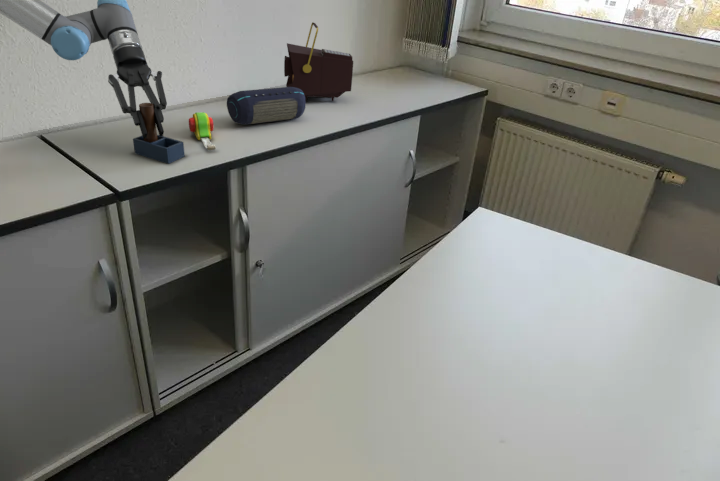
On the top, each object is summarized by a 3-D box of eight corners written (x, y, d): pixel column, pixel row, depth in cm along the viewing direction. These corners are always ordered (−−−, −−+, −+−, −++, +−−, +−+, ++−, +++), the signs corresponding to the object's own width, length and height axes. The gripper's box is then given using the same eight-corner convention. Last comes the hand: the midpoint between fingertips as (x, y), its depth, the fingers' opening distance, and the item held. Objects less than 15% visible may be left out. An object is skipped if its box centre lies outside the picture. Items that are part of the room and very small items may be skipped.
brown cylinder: (141, 142, 141) (135, 104, 136) (151, 138, 144) (146, 101, 138) (151, 145, 140) (145, 107, 135) (160, 141, 142) (156, 104, 137)
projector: (282, 91, 199) (283, 19, 187) (344, 93, 204) (349, 23, 192) (285, 103, 185) (286, 26, 173) (351, 105, 190) (357, 30, 178)
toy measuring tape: (208, 128, 162) (207, 106, 159) (223, 150, 147) (222, 126, 144) (186, 129, 159) (184, 107, 156) (199, 151, 144) (197, 128, 141)
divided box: (151, 146, 146) (149, 132, 144) (184, 156, 143) (183, 141, 140) (134, 153, 142) (132, 138, 140) (168, 163, 138) (166, 148, 136)
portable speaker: (238, 130, 160) (237, 96, 155) (224, 120, 167) (223, 88, 162) (310, 121, 174) (312, 90, 169) (295, 112, 180) (295, 82, 176)
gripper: (93, 46, 133) (120, 132, 130) (162, 42, 141) (188, 124, 138) (93, 62, 139) (118, 145, 136) (158, 58, 147) (183, 137, 145)
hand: (153, 134), depth 137 cm, fingers closed on brown cylinder, 3 cm apart
